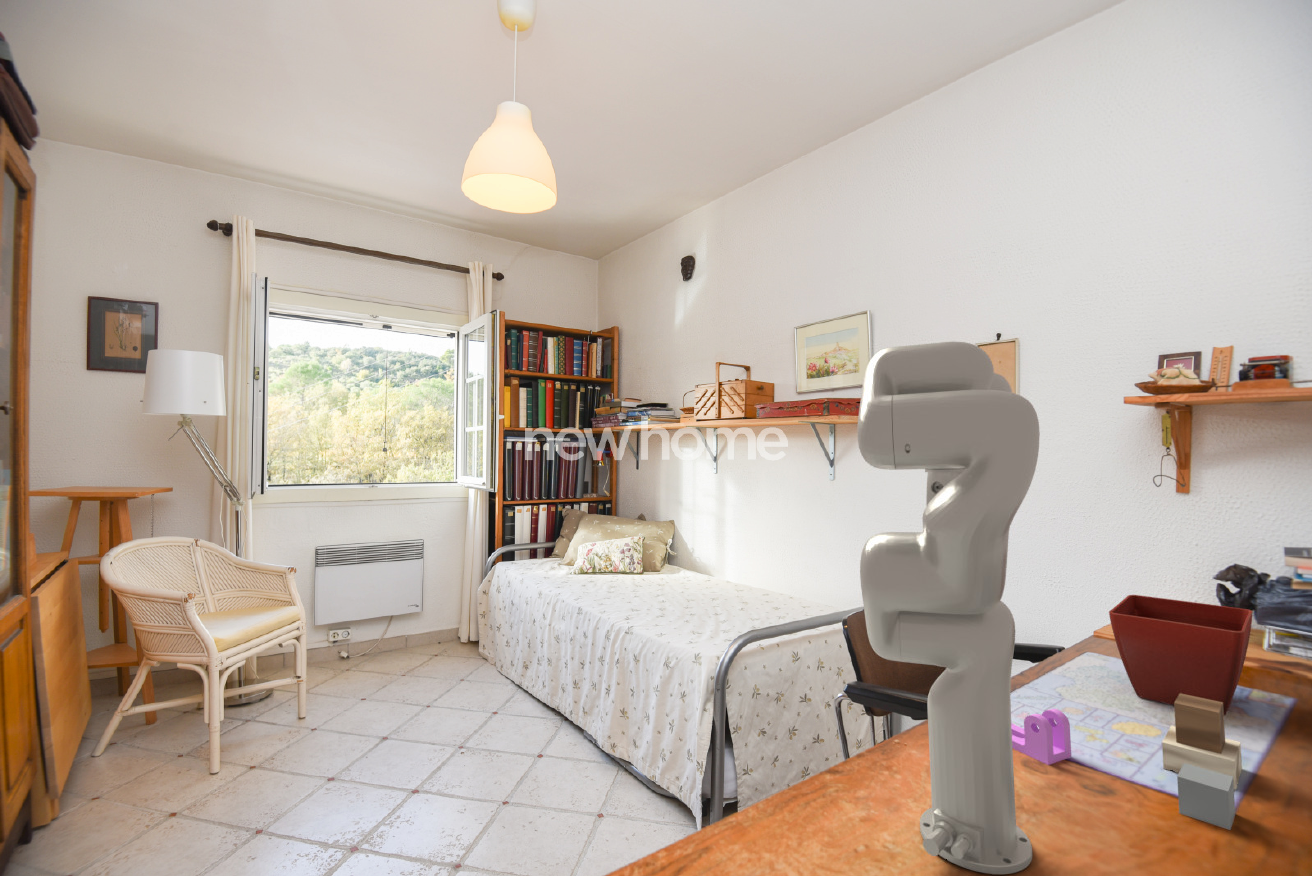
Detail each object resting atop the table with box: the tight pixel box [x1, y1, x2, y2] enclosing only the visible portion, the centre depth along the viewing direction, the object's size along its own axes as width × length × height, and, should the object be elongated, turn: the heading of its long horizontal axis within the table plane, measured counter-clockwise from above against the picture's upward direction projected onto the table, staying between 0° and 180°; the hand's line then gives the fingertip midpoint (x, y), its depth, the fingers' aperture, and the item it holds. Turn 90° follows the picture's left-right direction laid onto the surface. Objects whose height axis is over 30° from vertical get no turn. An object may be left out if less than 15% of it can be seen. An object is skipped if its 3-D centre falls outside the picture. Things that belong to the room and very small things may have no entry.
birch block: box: [1161, 724, 1243, 790], centre depth 91 cm, size 8×8×4 cm
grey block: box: [1176, 763, 1236, 831], centre depth 80 cm, size 5×5×5 cm
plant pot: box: [1108, 594, 1254, 716], centre depth 116 cm, size 19×19×17 cm
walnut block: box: [1173, 693, 1226, 754], centre depth 91 cm, size 5×5×6 cm
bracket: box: [1011, 708, 1072, 766], centre depth 101 cm, size 13×6×7 cm, turn 23°
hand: (952, 562), depth 103 cm, fingers open, 9 cm apart
